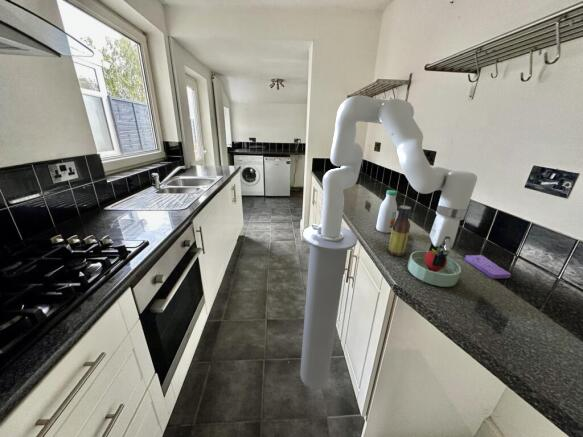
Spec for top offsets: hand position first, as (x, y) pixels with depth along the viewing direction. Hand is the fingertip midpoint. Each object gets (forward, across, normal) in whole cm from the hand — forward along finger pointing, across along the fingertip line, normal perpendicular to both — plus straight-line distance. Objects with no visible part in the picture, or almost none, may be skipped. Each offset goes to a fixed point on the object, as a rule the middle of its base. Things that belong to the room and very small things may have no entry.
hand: (435, 259), depth 79 cm
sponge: (+6, -13, +20) cm, 25 cm away
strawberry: (+6, 0, 0) cm, 6 cm away
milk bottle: (+6, -33, -16) cm, 37 cm away
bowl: (+6, 0, 0) cm, 6 cm away
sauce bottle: (+6, -11, -11) cm, 17 cm away
